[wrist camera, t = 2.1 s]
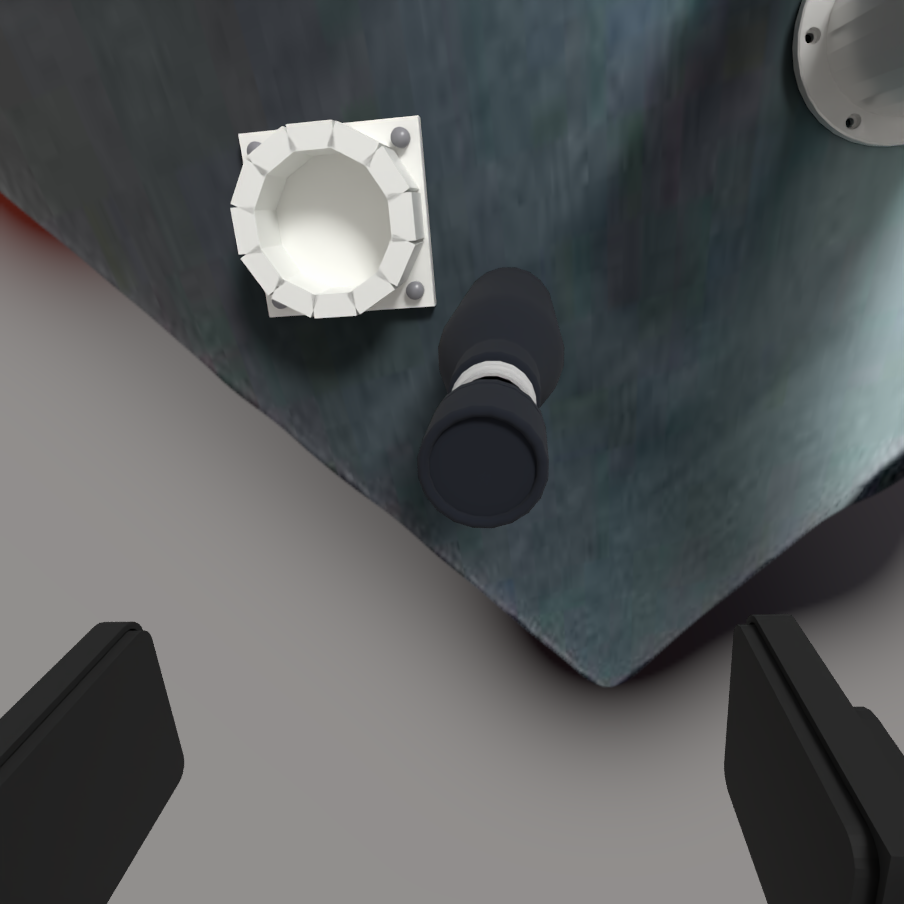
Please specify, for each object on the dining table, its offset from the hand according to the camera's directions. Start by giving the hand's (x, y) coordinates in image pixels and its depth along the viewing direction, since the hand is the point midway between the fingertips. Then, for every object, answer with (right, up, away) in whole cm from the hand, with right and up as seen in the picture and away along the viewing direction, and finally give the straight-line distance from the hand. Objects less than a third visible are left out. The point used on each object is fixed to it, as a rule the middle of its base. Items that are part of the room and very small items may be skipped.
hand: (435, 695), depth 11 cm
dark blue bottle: (+4, +14, +37) cm, 40 cm away
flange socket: (-7, +20, +36) cm, 42 cm away
